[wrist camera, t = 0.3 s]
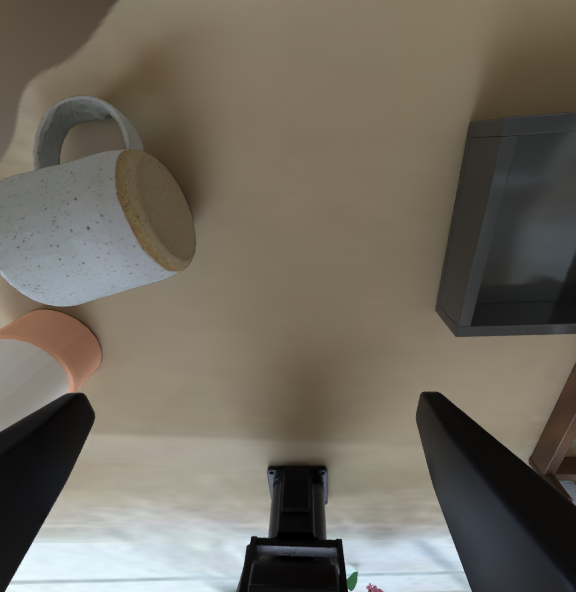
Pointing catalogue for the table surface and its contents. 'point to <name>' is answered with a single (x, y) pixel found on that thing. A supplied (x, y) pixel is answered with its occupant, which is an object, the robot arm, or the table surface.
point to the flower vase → (353, 580)
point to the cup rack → (558, 441)
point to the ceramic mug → (91, 215)
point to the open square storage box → (513, 230)
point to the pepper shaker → (43, 362)
